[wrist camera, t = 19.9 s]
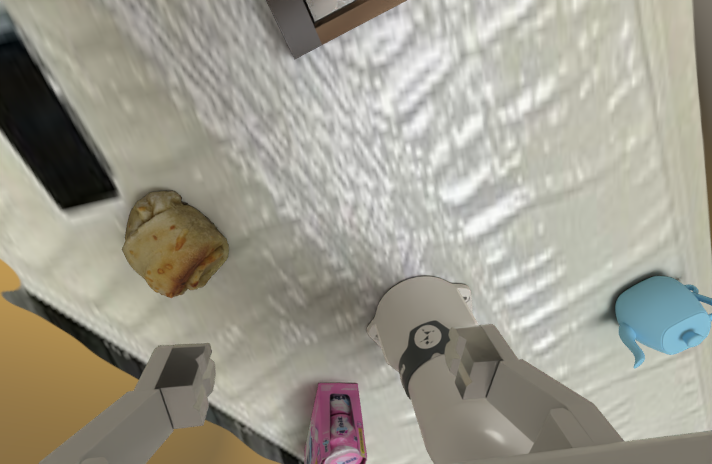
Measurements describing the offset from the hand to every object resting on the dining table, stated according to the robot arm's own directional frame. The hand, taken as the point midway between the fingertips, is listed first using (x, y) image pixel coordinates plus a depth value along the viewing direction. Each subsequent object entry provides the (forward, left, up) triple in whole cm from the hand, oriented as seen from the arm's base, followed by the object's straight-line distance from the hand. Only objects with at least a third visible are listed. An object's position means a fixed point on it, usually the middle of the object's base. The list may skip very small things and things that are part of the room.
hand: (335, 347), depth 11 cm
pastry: (-5, +22, -34) cm, 41 cm away
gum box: (-53, +24, -34) cm, 67 cm away
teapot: (-55, -40, -34) cm, 76 cm away
